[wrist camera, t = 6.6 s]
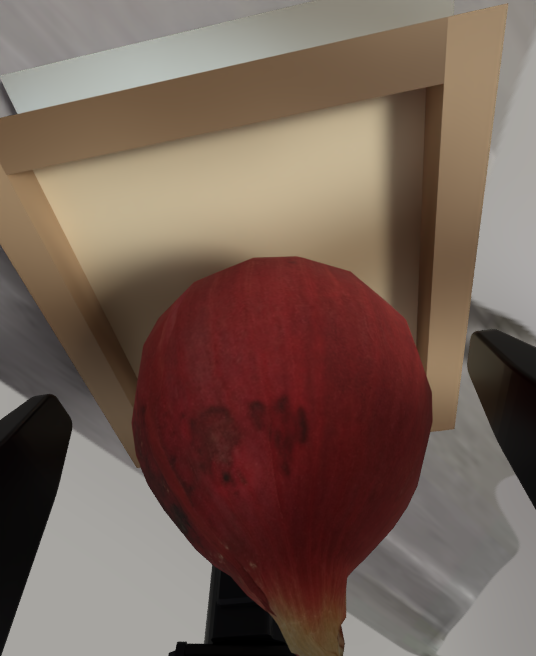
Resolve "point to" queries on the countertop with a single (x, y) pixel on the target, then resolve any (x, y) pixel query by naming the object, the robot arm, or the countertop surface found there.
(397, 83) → the tan square tray
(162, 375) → the onion
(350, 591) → the countertop surface
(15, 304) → the countertop surface
